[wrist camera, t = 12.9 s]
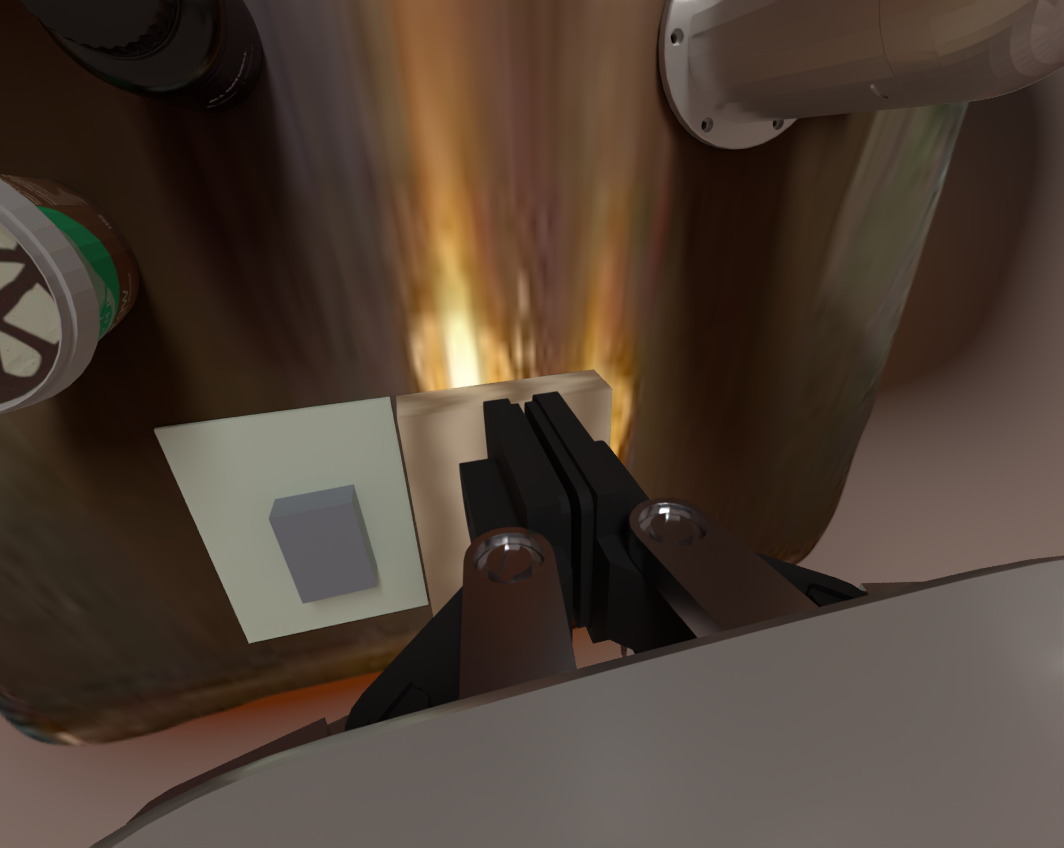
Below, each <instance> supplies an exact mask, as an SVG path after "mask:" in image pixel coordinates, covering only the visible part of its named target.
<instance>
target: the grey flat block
mask: <svg viewBox="0 0 1064 848" xmlns="http://www.w3.org/2000/svg"><path fill="white" fill-rule="evenodd" d="M269 521H270V524H271V526H272V529H273V531H274V534H275V536H276V539H277V541H278V544H279V546H280V549H281V551H282V554H283V556H284V559H285V561H286V564H287V566H288V569H289V571H290V573H291V576H292V578H293V581H294V583H295V586H296V588H297V591H298V593H299V596H300V598H301V601H302V603H303V604H304V603H309V602H313V601H317V600H322V599H326V598H331V597H335V596H339V595H344V594H348V593H353V592H357V591H361V590H366V589H370V588H375V587H377V564H376V560H375V557H374V553H373V550H372V546H371V543H370V539H369V536H368V533H367V529H366V526H365V522H364V519H363V515H362V512H361V508H360V505H359V501H358V498H357V494H356V491H355V487H354V484H353V485H347V486H342V487H337V488H332V489H326V490H321V491H316V492H310V493H305V494H300V495H295V496H289V497H284V498H279V499H275V501H274V504H273V507H272V510H271V513H270V516H269Z"/></svg>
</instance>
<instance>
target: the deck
mask: <svg viewBox="0 0 1064 848" xmlns="http://www.w3.org/2000/svg"><path fill="white" fill-rule="evenodd" d="M555 391H558V392H559V393H560V395H561V396H562V398H563V399H564V400H565V402H566V403H567V404H568V406H569V407H570V409H571V410H572V411H573V413H574V414H575V415H576V417H577V418H578V420H579V421H580V422H581V424H582V425H583V426H584V428H585V429H586V430H587V432H588V433H589V435H590V436H591V437H592V439H593V440H594V441H599V440H603V441H605V442H606V443H607V445H608V446H609V447H610V431H611V408H612V388H611V387H610V386H609V385H608V384H607V383H606V382H605V381H604V380H603V379H602V377H601V376H600V375H599V374H598V373H597V372H596V371H595V370H588V371H580V372H573V373H565V374H558V375H550V376H543V377H535V378H528V379H520V380H513V381H505V382H497V383H490V384H482V385H475V386H467V387H460V388H452V389H445V390H437V391H429V392H422V393H414V394H407V395H399V396H396V398H397V420H398V426H399V431H400V437H401V442H402V448H403V453H404V459H405V464H406V470H407V475H408V481H409V486H410V491H411V497H412V502H413V508H414V513H415V519H416V524H417V530H418V535H419V541H420V546H421V552H422V557H423V562H424V568H425V573H426V579H427V584H428V590H429V595H430V601H431V606H432V612H433V617H434V616H435V615H436V614H437V613H438V612H439V611H440V610H441V609H442V607H443V606H444V605H445V604H446V603H447V602H448V601H449V600H450V599H451V598H452V597H453V596H454V595H455V593H456V592H457V591H458V590H459V589H460V588H461V587H462V586H463V560H464V556H465V552H466V550H467V549H468V547H469V546H470V544H471V542H470V537H469V532H468V527H467V522H466V516H465V510H464V503H463V496H462V488H461V480H460V472H459V463H463V462H469V461H475V460H482V459H488V457H487V446H486V435H485V424H484V413H483V402H484V401H490V400H497V399H504V398H508V399H509V400H510V402H511V404H515V403H519V405H520V407H521V409H522V410H523V412H524V403H525V402H529V401H532V396H533V395H534V394H540V393H547V392H555Z"/></svg>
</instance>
